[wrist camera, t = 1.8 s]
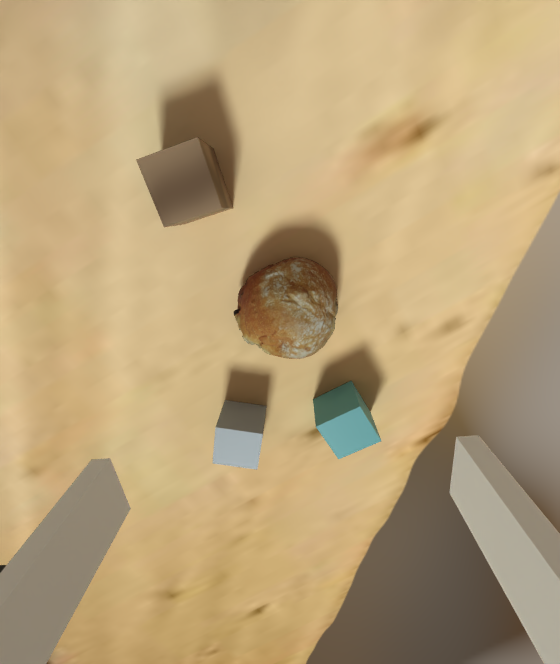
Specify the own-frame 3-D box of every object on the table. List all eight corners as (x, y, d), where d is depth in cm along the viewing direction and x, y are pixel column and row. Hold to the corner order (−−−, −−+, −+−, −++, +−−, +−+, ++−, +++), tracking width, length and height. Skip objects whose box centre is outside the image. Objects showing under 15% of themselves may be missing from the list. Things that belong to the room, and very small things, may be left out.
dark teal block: (312, 398, 36) (316, 426, 32) (351, 380, 35) (360, 406, 30) (332, 428, 38) (338, 459, 33) (370, 411, 37) (381, 441, 32)
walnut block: (162, 167, 28) (136, 159, 23) (213, 149, 27) (197, 136, 22) (184, 224, 29) (164, 227, 25) (233, 208, 29) (221, 208, 24)
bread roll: (320, 331, 37) (362, 355, 30) (239, 358, 34) (265, 391, 27) (310, 248, 33) (355, 252, 26) (218, 268, 30) (241, 279, 23)
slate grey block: (225, 399, 37) (215, 427, 32) (266, 405, 37) (262, 434, 32) (222, 432, 39) (212, 463, 34) (261, 438, 39) (257, 469, 34)
